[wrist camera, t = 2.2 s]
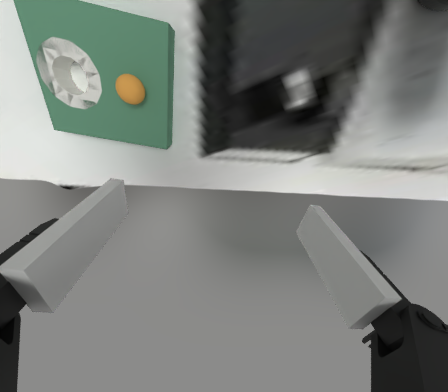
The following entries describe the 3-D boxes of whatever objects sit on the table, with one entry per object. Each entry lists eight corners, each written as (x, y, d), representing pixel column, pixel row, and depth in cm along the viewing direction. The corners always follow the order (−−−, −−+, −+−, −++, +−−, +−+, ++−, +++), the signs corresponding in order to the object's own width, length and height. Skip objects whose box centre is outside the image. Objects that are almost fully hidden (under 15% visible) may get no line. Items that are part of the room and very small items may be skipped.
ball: (122, 72, 27) (107, 69, 23) (148, 78, 27) (137, 75, 24) (125, 101, 29) (112, 102, 25) (149, 106, 29) (140, 107, 26)
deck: (37, -3, 25) (7, -18, 22) (174, 31, 27) (168, 22, 24) (71, 126, 34) (54, 129, 31) (172, 144, 36) (167, 149, 33)
